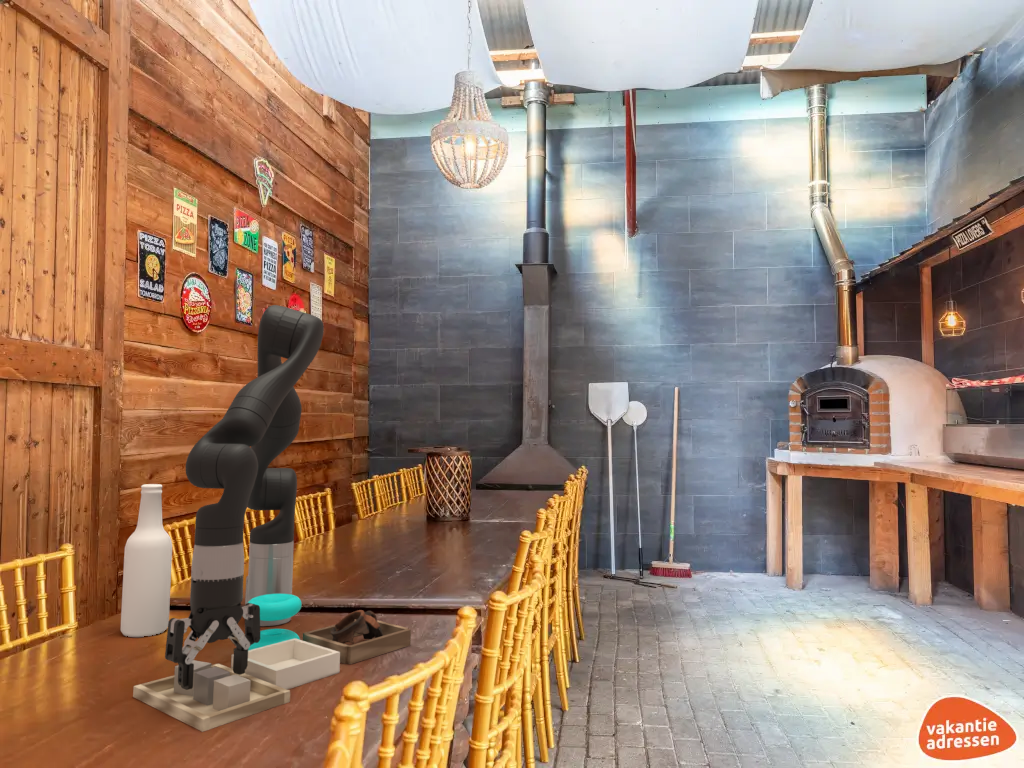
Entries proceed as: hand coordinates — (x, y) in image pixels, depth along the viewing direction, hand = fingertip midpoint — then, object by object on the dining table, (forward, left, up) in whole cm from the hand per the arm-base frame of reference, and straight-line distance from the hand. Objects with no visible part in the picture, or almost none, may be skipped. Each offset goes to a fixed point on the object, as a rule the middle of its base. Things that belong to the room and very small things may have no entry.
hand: (213, 680), depth 109 cm
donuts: (-15, +21, -4) cm, 26 cm away
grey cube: (0, 0, -3) cm, 3 cm away
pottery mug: (-4, +33, -4) cm, 34 cm away
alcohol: (-46, +12, -4) cm, 48 cm away
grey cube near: (+5, 0, -3) cm, 6 cm away
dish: (-1, +14, -3) cm, 14 cm away
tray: (0, 0, -3) cm, 3 cm away
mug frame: (-5, +33, -3) cm, 34 cm away
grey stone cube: (-6, 0, -3) cm, 7 cm away
